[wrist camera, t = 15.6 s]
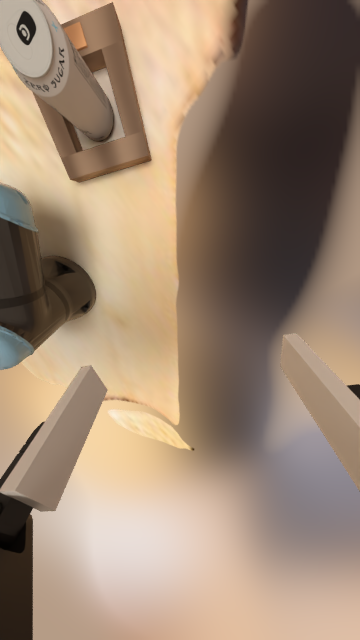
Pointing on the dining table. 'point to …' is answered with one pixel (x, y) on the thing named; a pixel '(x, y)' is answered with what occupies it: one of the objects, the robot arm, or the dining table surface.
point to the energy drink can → (53, 66)
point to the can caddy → (109, 51)
